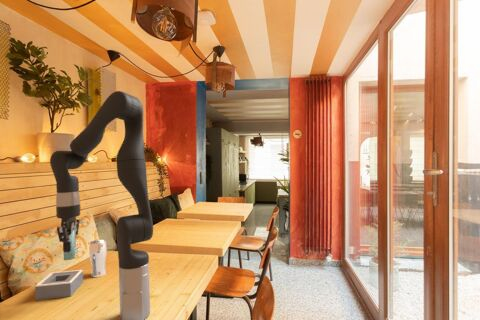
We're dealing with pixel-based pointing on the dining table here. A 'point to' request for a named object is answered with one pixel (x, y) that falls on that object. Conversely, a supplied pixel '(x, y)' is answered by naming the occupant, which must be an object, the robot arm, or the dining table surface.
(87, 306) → the dining table surface
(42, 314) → the dining table surface
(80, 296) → the dining table surface
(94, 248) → the tumbler
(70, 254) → the plug
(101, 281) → the dining table surface
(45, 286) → the socket block
